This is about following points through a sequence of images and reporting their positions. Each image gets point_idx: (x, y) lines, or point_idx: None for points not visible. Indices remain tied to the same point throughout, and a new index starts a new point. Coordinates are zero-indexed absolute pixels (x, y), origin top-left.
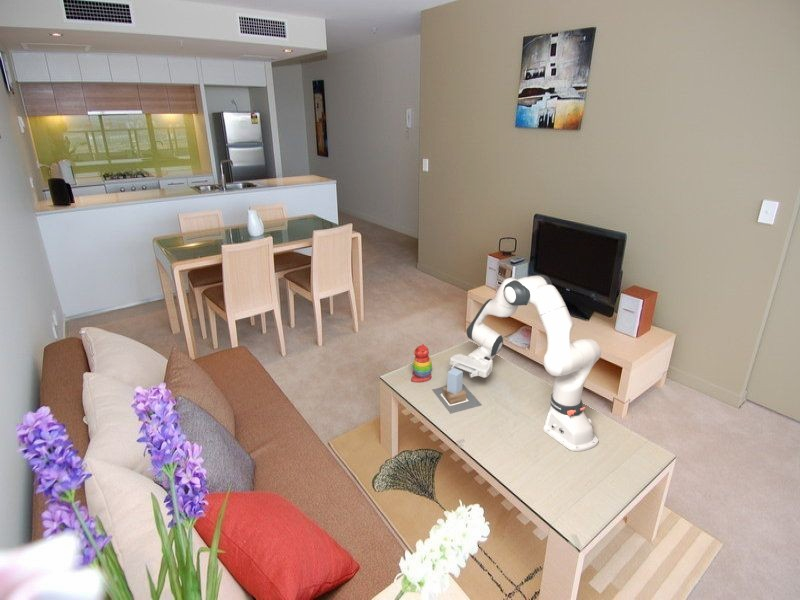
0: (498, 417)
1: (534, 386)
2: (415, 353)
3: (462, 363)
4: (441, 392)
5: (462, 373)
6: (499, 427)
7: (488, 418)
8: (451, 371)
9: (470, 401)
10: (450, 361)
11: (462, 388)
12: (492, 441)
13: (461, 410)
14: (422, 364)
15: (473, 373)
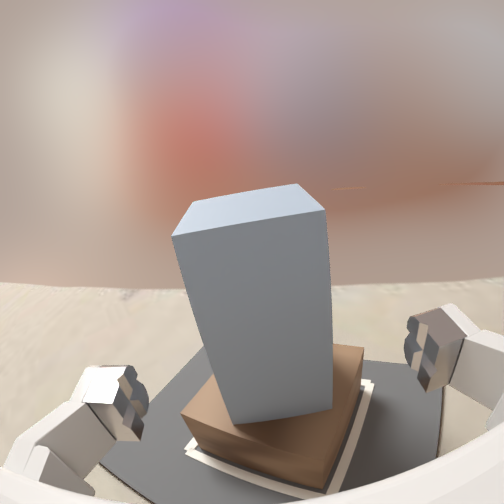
0: (25, 419)
1: None
2: None
3: (449, 453)
4: (386, 394)
5: (180, 263)
6: (27, 378)
7: (60, 398)
8: (280, 194)
9: (170, 454)
10: None
11: None
12: (50, 330)
13: (180, 372)
14: None
15: (72, 403)
